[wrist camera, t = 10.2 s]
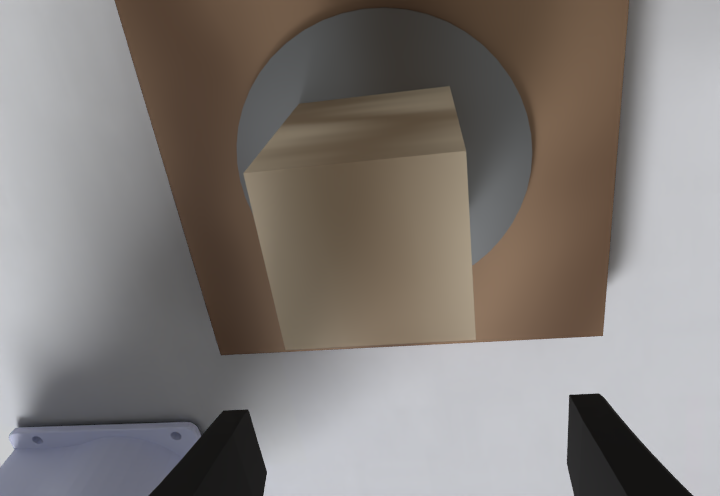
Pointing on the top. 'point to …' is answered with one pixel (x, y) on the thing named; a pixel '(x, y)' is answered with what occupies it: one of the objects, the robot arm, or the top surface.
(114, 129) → the top surface
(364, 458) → the top surface
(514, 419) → the top surface
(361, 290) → the maple block
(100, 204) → the top surface
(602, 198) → the walnut base
